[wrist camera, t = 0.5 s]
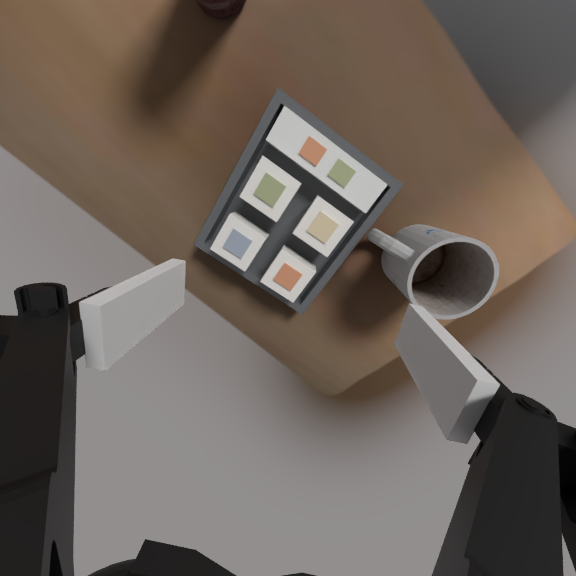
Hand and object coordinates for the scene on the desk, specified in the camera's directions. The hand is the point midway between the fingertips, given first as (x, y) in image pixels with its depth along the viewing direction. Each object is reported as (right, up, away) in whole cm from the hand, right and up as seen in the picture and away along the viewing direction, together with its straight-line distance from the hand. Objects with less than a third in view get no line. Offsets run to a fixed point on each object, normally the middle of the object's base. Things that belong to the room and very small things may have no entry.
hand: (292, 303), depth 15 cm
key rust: (0, +3, +20) cm, 20 cm away
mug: (+15, +6, +20) cm, 26 cm away
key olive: (-2, +13, +16) cm, 21 cm away
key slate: (-6, +7, +19) cm, 21 cm away
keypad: (0, +10, +19) cm, 22 cm away
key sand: (+4, +9, +17) cm, 20 cm away
